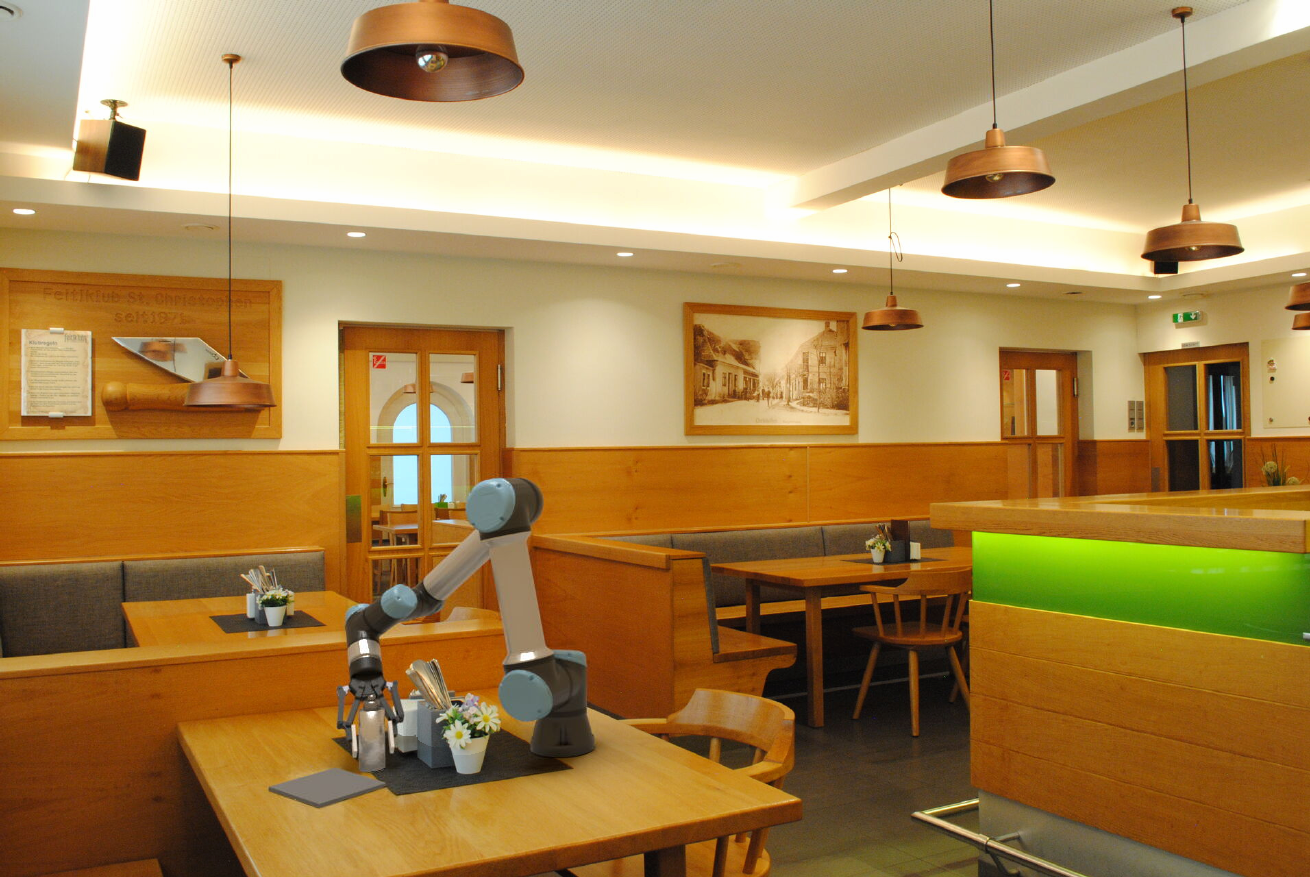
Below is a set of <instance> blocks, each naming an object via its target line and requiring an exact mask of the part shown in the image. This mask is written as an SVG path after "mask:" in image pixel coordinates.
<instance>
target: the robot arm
mask: <svg viewBox="0 0 1310 877" xmlns="http://www.w3.org/2000/svg"><path fill="white" fill-rule="evenodd" d="M544 505H545V501H544V495H543V492H542V490H541V489H540V488H539V486H538V485H537V484H536V483H535V482H533V481H532V480H531V479H530V480H529V479H528V478H526V477H525V478H524V477H513V478H512V477H497V478H496V477H495V478H491V479H485V480H482V481H480V482H478V483H477V484H476V485H474V487H473V488H472V489H471V490H470V492H469V494H468V495H467V497H466V502H465V515H466V518H467V520H468V523H469V524H470V526H472V527H473V528H474V530H473V531H472V532H471V533H470V534H469V535H468V536H467V537H466V538H465V539H464V540H463V541H462V542H461V543H460V544H459V545H457V547H455V548H454V549H453V550H452V551H451V552H450V553H449V554H448V555H447V556H446V557H445V558H444V559H442V560H441V562H439V563H438V564H437V565H436V566H435V567H434V568H433V569H432V570H430V572H429V573H428V574H427V575H426V576H425V577H424V578H423V579H422V580H421V581H419V582H418V583H417V584H416V585H415V586H413V587H411V588H410V587H409V586H408V585H404V584H403V583H402V584H401V583H400V584H396V585H394V586H393V587H391V588H389V589H387V590H386V591H385V592H384V593H383V594H381V595H380V596H379V597H378V598H376V599H375V600H374V601H373V602H372V603H370V604H369V603H358V604H357V605H353V606H351V607H349V609H347V611H346V612H345V616H344V621H345V622H344V624H345V625H344V630H345V637H346V638H345V639H346V647H347V648H346V649H347V660H348V662H347V663H348V674H349V675H348V676H349V683H348V684H347V685H344V686H343V685H342V684H341V685H337V687H336V688H337V689H336V696H337V699H338V705H337V706H338V707H337V718H336V729H337V730H344V731H345V741H346V743H347V744H349V743H350V744H351V750H352V759H355V758H357V755H358V744H357V742H358V741H357V732H356V724H353V723H354V721H355V718H356V715H357V714H358V711H359V707H360V705H361V703H363V701H364V700H367V699H368V696H369V695H371V694H373V695H375V696H376V699H380V707H383V708H385V719H386V720H387V727H386V729H387V738H388V747H389V754H394V753H395V739H396V738H397V737H398V735H399V734H398V733H399V730H398V724H402V723H404V720H405V711H404V707H403V705H402V700H401V698H400V693H399V690H398V687H399V686H398V685H399V681H398V680H396V679H395V680H393V681H392V682H391V681H387V680H386V679H385V677H384V676H385V675H384V669H383V668H384V667H383V662H382V660H383V659H382V651H381V642H380V637H381V636H382V635H384V634H385V633H386V632H388V631H389V630H390V629H392V628H393V627H394V626H396V625H398V624H400V623H402V622H403V623H404V622H407V621H411V620H415V619H418V618H419V619H420V618H423V617H429V616H432V615H434V614H436V613H438V612H440V611H441V610H442V609H443V608H444V605H445V602H446V600H447V598H449V597H450V596H451V595H452V594H453V593H454V592H455V591H456V590H457V589H458V588H459V587H461V586H462V585H463V584H464V583H465V582H466V581H468V579H469V578H470V577H471V576H473V575H474V574H475V573H476V572H477V571H478V570H479V569H480V568H481V567H482V566H483V565H485V564H486V563H487V562H488V561H489V560H490V563H491V567H492V568H491V569H492V574H493V580H494V584H495V591H496V595H497V596H496V597H497V601H498V607H499V608H498V609H499V612H500V617H501V623H502V629H503V635H504V639H505V646H506V651H507V655H506V656H505V658H504V660H503V661H502V668H503V669H502V670H503V674H504V675H503V677H502V680H501V682H500V683H499V685H498V692H497V693H498V700H499V703H500V705H501V707H502V708H503V710H504V711H505V712H506V714H507V715H509V716H511V717H512V718H513V719H515V720H516V721H520V722H533V721H535V725H534V727H533V730H532V736H531V737H530V742H529V743H530V747H529V748H530V749H529V750H530V752H532V754H535V755H537V756H540V757H547V758H567V757H569V758H570V757H577V756H581V755H585V754H588V753H591V752H592V751H593V750H595V747H596V744H595V743H596V740H595V735H594V733H593V731H592V728H591V723H590V721H589V720H590V719H589V716H588V697H587V696H588V693H587V692H588V674H587V672H588V671H587V669H588V664H587V656H586V654H585V653H584V652H583V651H580V650H573V649H550V648H549V647H547V644H546V641H545V635H544V631H543V629H544V628H543V625H542V619H541V615H540V609H539V603H538V598H537V591H536V587H535V582H534V576H533V571H532V565H531V560H530V554H529V549H528V544H527V540H528V539H529V537H530V536H531V534H532V526H533V525H534V524H535V523H536V522H537V521H538V520H539V519H540V517H541V516H542V513H543V510H544ZM385 689H387V691H388V692H389V693H390V696H391V700H392V704H393V707H394V711H393V709H392V708H391V706H390V704H389V703H388V701H387V699H386V698H385V696H384V693H383V692H384V690H385ZM348 693H350V694H351V695H353V696H354V699H353V703H352V704H351V708H350V710H349V713H348V716H347V718H346V720H344V712H345V711H344V710H345V702H346V701H345V698H346V697H347V696H348ZM394 712H395V713H394ZM394 738H395V739H394Z"/></svg>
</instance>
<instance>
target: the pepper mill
mask: <svg viewBox="0 0 1310 877" xmlns="http://www.w3.org/2000/svg"><path fill="white" fill-rule="evenodd" d="M362 703H363V705H362V706H363V708H360V709H358V771H359V772H361V773H366V772H370V773H372V772H371V771H378V770H381V769H383V768H385V769H386V717H385V708H383V707H380V699H376V696H375V695H373V694H371V695H369V696H368V699H367V700H364V701H363V702H362ZM383 770H384V769H383ZM381 771H382V770H381ZM378 772H379V771H378Z"/></svg>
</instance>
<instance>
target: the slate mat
mask: <svg viewBox="0 0 1310 877" xmlns="http://www.w3.org/2000/svg"><path fill="white" fill-rule="evenodd" d="M384 786H386V787H387V782H384V781H381V780H377V779H374V778H372V777H367V776H364V775H361V774H357V773H354V772H351V771H348V770H345V769H341V768H338V767H333V768H330V769H326V770H322V771H318V772H316V773H311V774H309V775H305V776H302V777H299V778H294V779H291V780H288V781H285V782H284V781H283V782H279V783H276V784H273V785H270V786H268V791H269V792H271V793H274V794H277V793H278V794H277V795H280V796H283V795H284V796H283V797H285V798H288V797H289V798H290V799H292V800H294V799H296V800H295V801H297V800H298V802H300V801H301V802H300V803H302V804H303V803H304V804H306V803H307V804H306V805H309V806H312V807H315V808H318V809H320V808H324V807H327V806H330V805H333V803H334V804H336V803H339V801H340V802H342V801H345V800H344V799H346V800H349V799H353V798H355V797H358V795H359V796H361V795H364V794H368V793H371V792H374V791H373V790H375V791H377V789H378V790H380V789H379V788H381V789H384V788H385V787H384ZM383 787H384V788H383ZM352 797H353V798H352ZM289 798H288V799H289Z"/></svg>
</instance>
